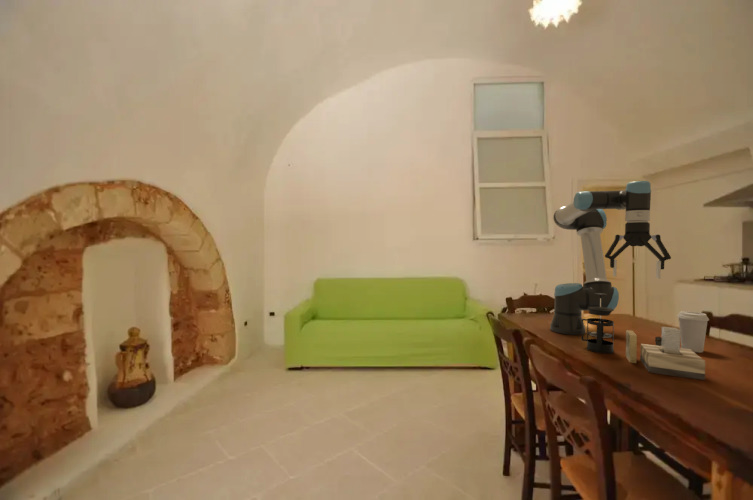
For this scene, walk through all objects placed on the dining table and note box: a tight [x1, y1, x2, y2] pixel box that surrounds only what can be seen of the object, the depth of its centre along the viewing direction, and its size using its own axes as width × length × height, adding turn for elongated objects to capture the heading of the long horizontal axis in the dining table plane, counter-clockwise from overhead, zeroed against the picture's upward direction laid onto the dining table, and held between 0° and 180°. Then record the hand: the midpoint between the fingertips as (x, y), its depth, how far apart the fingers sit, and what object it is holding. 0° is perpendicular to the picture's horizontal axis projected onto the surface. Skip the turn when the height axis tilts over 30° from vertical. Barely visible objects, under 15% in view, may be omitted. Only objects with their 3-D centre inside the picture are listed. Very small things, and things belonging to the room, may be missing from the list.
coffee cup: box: [677, 310, 710, 354], centre depth 139 cm, size 10×10×15 cm
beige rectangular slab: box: [625, 329, 638, 364], centre depth 128 cm, size 8×2×10 cm, turn 152°
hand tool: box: [654, 336, 662, 346], centre depth 136 cm, size 19×4×5 cm, turn 155°
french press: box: [581, 293, 615, 355], centre depth 139 cm, size 12×9×23 cm
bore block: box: [639, 343, 706, 381], centre depth 118 cm, size 14×14×6 cm
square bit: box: [661, 326, 681, 355], centre depth 118 cm, size 4×4×12 cm
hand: (635, 277), depth 133 cm, fingers open, 13 cm apart
